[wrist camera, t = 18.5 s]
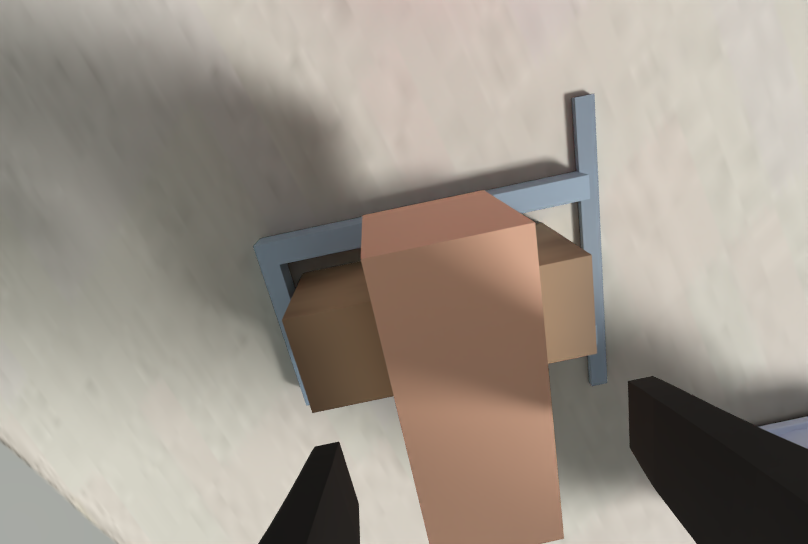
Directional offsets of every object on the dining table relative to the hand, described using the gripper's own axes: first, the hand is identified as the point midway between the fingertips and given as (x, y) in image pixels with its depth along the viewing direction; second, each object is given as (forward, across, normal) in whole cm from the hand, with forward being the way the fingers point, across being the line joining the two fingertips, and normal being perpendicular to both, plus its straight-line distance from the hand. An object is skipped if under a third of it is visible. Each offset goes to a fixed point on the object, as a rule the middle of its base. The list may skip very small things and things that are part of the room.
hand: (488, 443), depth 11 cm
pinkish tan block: (+6, 0, 0) cm, 6 cm away
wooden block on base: (+10, 0, 0) cm, 11 cm away
